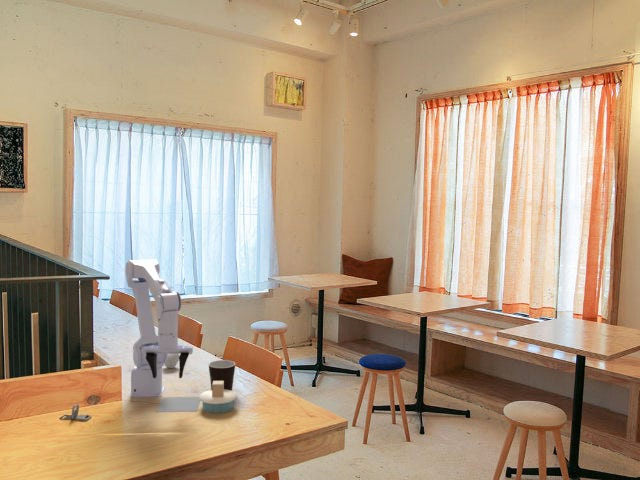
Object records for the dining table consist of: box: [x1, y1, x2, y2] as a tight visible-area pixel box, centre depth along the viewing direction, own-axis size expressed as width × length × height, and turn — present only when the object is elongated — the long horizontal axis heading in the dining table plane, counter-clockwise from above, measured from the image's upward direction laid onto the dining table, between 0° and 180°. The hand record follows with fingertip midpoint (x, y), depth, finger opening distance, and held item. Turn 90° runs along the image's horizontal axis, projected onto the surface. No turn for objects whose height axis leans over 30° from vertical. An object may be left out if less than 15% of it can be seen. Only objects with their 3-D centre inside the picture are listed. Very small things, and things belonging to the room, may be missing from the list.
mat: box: [155, 396, 201, 413], centre depth 171 cm, size 12×12×1 cm
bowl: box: [202, 400, 234, 414], centre depth 169 cm, size 9×9×4 cm
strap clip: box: [58, 403, 92, 422], centre depth 160 cm, size 8×3×4 cm, turn 84°
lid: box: [199, 381, 237, 404], centre depth 169 cm, size 11×11×5 cm
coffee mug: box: [208, 359, 236, 391], centre depth 183 cm, size 12×9×10 cm
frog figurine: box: [164, 354, 180, 369], centre depth 208 cm, size 6×7×7 cm
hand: (167, 377), depth 167 cm, fingers open, 7 cm apart
